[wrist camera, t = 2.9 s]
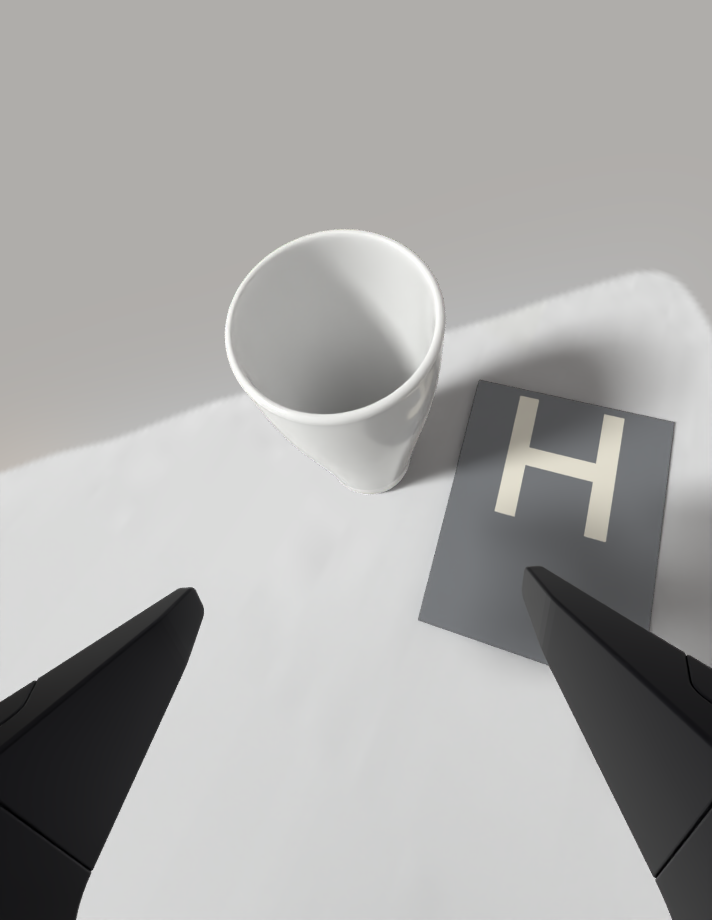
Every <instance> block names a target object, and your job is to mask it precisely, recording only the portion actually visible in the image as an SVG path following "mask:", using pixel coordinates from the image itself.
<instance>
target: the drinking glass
mask: <svg viewBox="0 0 712 920" xmlns="http://www.w3.org/2000/svg"><path fill="white" fill-rule="evenodd" d="M445 324H446V314H445V305H444V299H443V296H442V293H441V289H440V287H439V284H438V282H437V280H436V278H435V277H434V275H433V273H432V272H431V270H430V269H429V268H428V266H427V265H426V264H425V262H424V261H423V260H422V259H421V258H420V257H419V256H418V255H416V254H415V253H414V252H413V251H412V250H410V249H409V248H408V247H406V246H405V245H403V244H401V243H399V242H398V241H396V240H394V239H391V238H389V237H387V236H384V235H381V234H378V233H374V232H370V231H364V230H355V229H337V230H327V231H321V232H317V233H313V234H309V235H306V236H303V237H300V238H297V239H295V240H293V241H291V242H289V243H287V244H285V245H283V246H281V247H279V248H278V249H276V250H275V251H273V252H272V253H270V254H269V255H268V256H266V257H265V258H264V259H263V260H262V261H260V262H259V263H258V264H257V265H256V266H255V267H254V268H253V269H252V270H251V271H250V273H249V274H248V275H247V276H246V277H245V279H244V280H243V282H242V283H241V285H240V286H239V288H238V290H237V291H236V293H235V295H234V298H233V300H232V302H231V305H230V308H229V311H228V315H227V319H226V326H225V346H226V352H227V357H228V360H229V363H230V366H231V369H232V371H233V373H234V375H235V377H236V379H237V380H238V382H239V384H240V385H241V386H242V387H243V389H244V390H245V392H246V393H247V394H248V395H249V397H250V398H251V399H252V401H253V402H254V403H255V405H256V406H257V407H258V409H259V410H260V411H261V412H262V414H263V415H264V416H265V417H266V419H267V420H268V421H269V422H270V423H271V424H272V425H273V427H274V428H275V429H276V430H277V431H278V432H279V433H280V434H281V435H282V436H283V437H284V438H285V439H286V440H287V441H288V442H289V443H291V444H292V445H293V446H294V447H295V448H297V449H298V450H299V451H300V452H301V453H303V454H304V455H305V456H307V457H308V458H310V459H311V460H312V461H314V462H315V463H317V464H318V465H319V466H321V467H322V468H324V469H325V470H326V471H328V472H329V473H330V474H332V475H333V476H335V477H336V478H337V480H338V481H339V482H340V483H341V484H342V485H344V486H345V487H346V488H348V489H349V490H351V491H354V492H356V493H360V494H367V495H372V494H379V493H382V492H385V491H387V490H389V489H391V488H393V487H394V486H395V485H397V484H398V483H399V482H400V481H401V479H402V478H403V477H404V475H405V474H406V472H407V470H408V467H409V464H410V459H411V455H412V452H413V450H414V447H415V445H416V443H417V440H418V438H419V436H420V434H421V431H422V429H423V427H424V424H425V422H426V419H427V417H428V414H429V412H430V409H431V406H432V403H433V399H434V396H435V392H436V388H437V384H438V379H439V373H440V367H441V361H442V353H443V343H444V333H445Z"/></svg>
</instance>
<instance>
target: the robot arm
mask: <svg viewBox="0 0 712 920" xmlns="http://www.w3.org/2000/svg"><path fill="white" fill-rule="evenodd" d="M522 596H523V600H524V603H525V605H526V608H527V611H528V614H529V617H530V619H531V622H532V625H533V628H534V631H535V633H536V636H537V639H538V642H539V644H540V647H541V650H542V652H543V654H544V656H545V658H546V660H547V662H548V664H549V666H550V669H551V671H552V673H553V675H554V677H555V679H556V681H557V683H558V685H559V687H560V689H561V691H562V693H563V695H564V697H565V699H566V701H567V703H568V705H569V707H570V709H571V711H572V713H573V715H574V717H575V719H576V721H577V723H578V725H579V727H580V729H581V731H582V733H583V735H584V737H585V739H586V741H587V743H588V745H589V747H590V749H591V751H592V754H593V756H594V758H595V760H596V762H597V764H598V766H599V768H600V770H601V772H602V774H603V776H604V778H605V780H606V782H607V784H608V786H609V788H610V790H611V792H612V794H613V796H614V798H615V800H616V802H617V804H618V806H619V808H620V810H621V812H622V814H623V816H624V818H625V820H626V822H627V824H628V826H629V828H630V830H631V832H632V834H633V836H634V839H635V841H636V843H637V845H638V847H639V849H640V851H641V853H642V855H643V857H644V859H645V861H646V863H647V865H648V867H649V869H650V871H651V873H652V875H653V877H655V878H656V879H655V881H656V883H657V885H658V887H659V889H660V892H661V894H662V896H663V898H664V901H665V903H666V905H667V908H668V910H669V913H670V915H671V918H672V920H712V668H710V667H708V666H707V665H705V664H703V663H702V662H700V661H698V660H697V659H695V658H694V657H692V656H690V655H687V656H686V654H685V653H684V652H683V651H681V650H679V649H678V648H676V647H674V646H673V645H671V644H669V643H668V642H666V641H664V640H663V639H661V638H660V637H658V636H656V635H655V634H653V633H651V632H650V631H648V630H646V629H645V628H643V627H641V626H640V625H638V624H637V623H635V622H633V621H632V620H630V619H628V618H627V617H625V616H623V615H622V614H620V613H618V612H617V611H615V610H613V609H612V608H610V607H609V606H607V605H605V604H604V603H602V602H600V601H599V600H597V599H595V598H594V597H592V596H590V595H589V594H587V593H585V592H584V591H582V590H581V589H579V588H577V587H576V586H574V585H572V584H571V583H569V582H567V581H566V580H564V579H562V578H561V577H559V576H558V575H556V574H554V573H553V572H551V571H549V570H548V569H546V568H544V567H542V566H527V567H526V568H525V569H524V574H523V583H522ZM203 616H204V607H203V605H202V603H201V600H200V598H199V596H198V594H197V592H196V590H195V589H194V588H192V587H188V588H179V589H177V590H175V591H174V592H172V593H171V594H169V595H168V596H166V597H165V598H163V599H161V600H160V601H158V602H157V603H155V604H154V605H152V606H151V607H149V608H147V609H146V610H144V611H143V612H141V613H140V614H138V615H136V616H135V617H133V618H132V619H130V620H129V621H127V622H126V623H124V624H122V625H121V626H119V627H118V628H116V629H115V630H113V631H112V632H110V633H108V634H107V635H105V636H104V637H102V638H101V639H99V640H97V641H96V642H94V643H93V644H91V645H90V646H88V647H87V648H85V649H83V650H82V651H80V652H79V653H77V654H76V655H74V656H73V657H71V658H69V659H68V660H66V661H65V662H63V663H62V664H60V665H58V666H57V667H55V668H54V669H52V670H51V671H49V672H48V673H46V674H44V675H43V676H41V677H40V678H38V680H37V681H33V682H31V683H29V684H28V685H26V686H25V687H23V688H22V689H20V690H19V691H17V692H15V693H14V694H12V695H11V696H9V697H7V698H6V699H4V700H3V701H1V702H0V920H76V918H77V913H78V909H79V905H80V901H81V898H82V895H83V892H84V890H85V887H86V884H87V882H88V880H89V877H90V875H91V871H92V870H93V868H94V866H95V864H96V862H97V860H98V858H99V855H100V853H101V851H102V849H103V847H104V844H105V842H106V840H107V838H108V836H109V834H110V831H111V829H112V827H113V825H114V823H115V821H116V818H117V816H118V814H119V812H120V810H121V807H122V805H123V803H124V801H125V799H126V797H127V794H128V792H129V790H130V788H131V786H132V783H133V781H134V779H135V777H136V775H137V773H138V770H139V768H140V766H141V764H142V762H143V759H144V757H145V755H146V753H147V751H148V749H149V746H150V744H151V742H152V740H153V738H154V735H155V733H156V731H157V729H158V727H159V725H160V722H161V720H162V718H163V716H164V714H165V711H166V709H167V707H168V705H169V703H170V701H171V698H172V696H173V694H174V692H175V690H176V687H177V685H178V683H179V681H180V679H181V677H182V674H183V672H184V670H185V667H186V665H187V663H188V660H189V657H190V654H191V651H192V648H193V646H194V643H195V640H196V637H197V634H198V631H199V628H200V625H201V622H202V619H203Z"/></svg>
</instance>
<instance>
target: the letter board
mask: <svg viewBox="0 0 712 920" xmlns="http://www.w3.org/2000/svg"><path fill="white" fill-rule="evenodd" d="M673 428H674V422H671V421H666V420H662V419H657V418H652V417H648V416H643V415H639V414H634V413H629V412H625V411H620V410H616V409H611V408H607V407H602V406H597V405H593V404H588V403H584V402H579V401H574V400H570V399H565V398H561V397H556V396H552V395H547V394H542V393H538V392H533V391H529V390H524V389H520V388H515V387H510V386H506V385H501V384H497V383H492V382H487V381H483V380H479V383H478V387H477V390H476V394H475V398H474V402H473V406H472V410H471V414H470V418H469V422H468V426H467V430H466V434H465V438H464V441H463V445H462V449H461V453H460V457H459V461H458V465H457V469H456V473H455V477H454V481H453V485H452V488H451V492H450V496H449V500H448V504H447V508H446V512H445V516H444V520H443V524H442V528H441V532H440V536H439V539H438V543H437V547H436V551H435V555H434V559H433V563H432V567H431V571H430V575H429V579H428V583H427V586H426V590H425V594H424V598H423V602H422V606H421V610H420V614H419V618H418V620H419V621H422V622H425V623H428V624H431V625H433V626H436V627H439V628H442V629H445V630H448V631H451V632H454V633H457V634H459V635H462V636H465V637H468V638H471V639H474V640H477V641H480V642H483V643H485V644H488V645H491V646H494V647H497V648H500V649H503V650H506V651H509V652H512V653H514V654H517V655H520V656H523V657H526V658H529V659H532V660H535V661H538V662H540V663H543V664H546V665H549V664H548V662H547V660H546V658H545V656H544V654H543V652H542V650H541V647H540V644H539V642H538V639H537V636H536V633H535V631H534V628H533V625H532V622H531V619H530V617H529V614H528V611H527V608H526V605H525V603H524V600H523V596H522V583H523V574H524V569H525V568H526V567H527V566H542V567H544V568H546V569H548V570H549V571H551V572H553V573H554V574H556V575H558V576H559V577H561V578H562V579H564V580H566V581H567V582H569V583H571V584H572V585H574V586H576V587H577V588H579V589H581V590H582V591H584V592H585V593H587V594H589V595H590V596H592V597H594V598H595V599H597V600H599V601H600V602H602V603H604V604H605V605H607V606H609V607H610V608H612V609H613V610H615V611H617V612H618V613H620V614H622V615H623V616H625V617H627V618H628V619H630V620H632V621H633V622H635V623H637V624H638V625H640V626H641V627H643V628H645V629H646V630H648V631H649V628H650V620H651V612H652V603H653V595H654V587H655V578H656V570H657V562H658V553H659V545H660V537H661V528H662V520H663V512H664V503H665V495H666V487H667V478H668V470H669V462H670V453H671V445H672V437H673Z"/></svg>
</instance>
